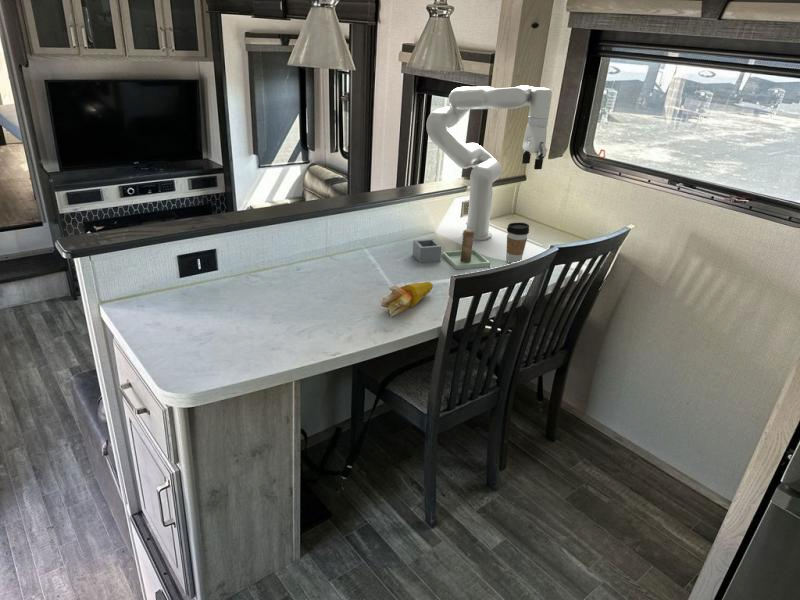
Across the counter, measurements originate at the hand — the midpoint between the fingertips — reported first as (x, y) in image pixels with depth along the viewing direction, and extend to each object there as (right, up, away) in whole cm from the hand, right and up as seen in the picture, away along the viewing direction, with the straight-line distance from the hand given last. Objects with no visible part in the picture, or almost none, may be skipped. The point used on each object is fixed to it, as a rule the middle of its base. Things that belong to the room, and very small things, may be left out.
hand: (531, 166), depth 230 cm
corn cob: (-49, -56, -41) cm, 85 cm away
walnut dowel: (-27, -38, -7) cm, 47 cm away
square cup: (-42, -38, -5) cm, 57 cm away
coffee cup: (-8, -38, -2) cm, 39 cm away
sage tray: (-27, -39, -6) cm, 48 cm away
